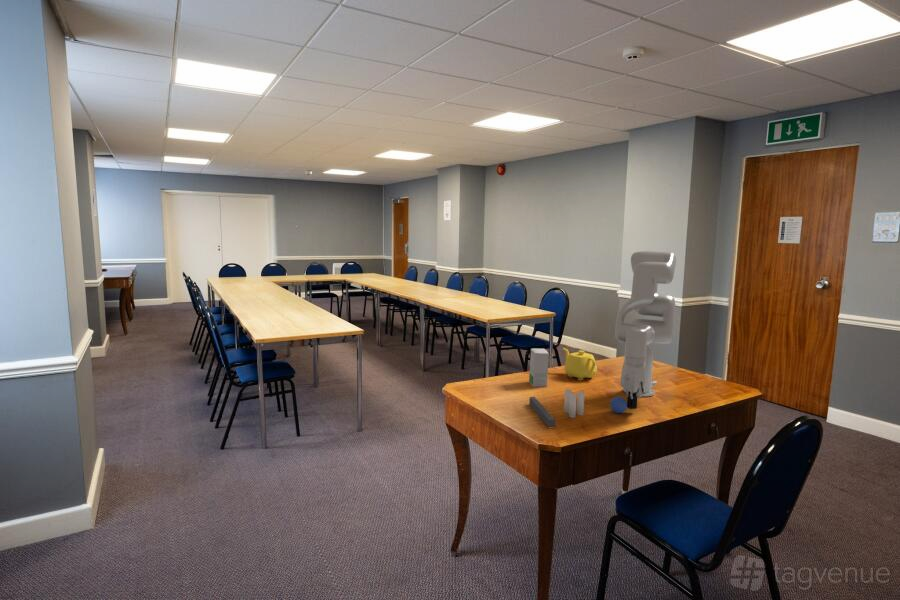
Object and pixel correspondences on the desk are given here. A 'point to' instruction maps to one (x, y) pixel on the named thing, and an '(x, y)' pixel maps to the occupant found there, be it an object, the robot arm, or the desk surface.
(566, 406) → the back right pin
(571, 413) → the back left pin
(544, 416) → the bar
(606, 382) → the desk surface
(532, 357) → the skincare box
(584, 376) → the teapot
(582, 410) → the front pin
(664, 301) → the robot arm
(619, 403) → the ball
